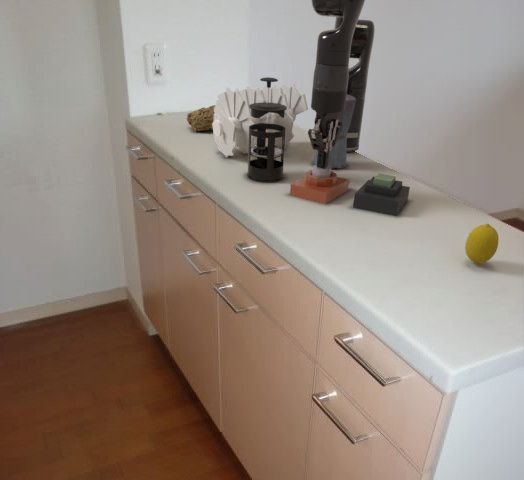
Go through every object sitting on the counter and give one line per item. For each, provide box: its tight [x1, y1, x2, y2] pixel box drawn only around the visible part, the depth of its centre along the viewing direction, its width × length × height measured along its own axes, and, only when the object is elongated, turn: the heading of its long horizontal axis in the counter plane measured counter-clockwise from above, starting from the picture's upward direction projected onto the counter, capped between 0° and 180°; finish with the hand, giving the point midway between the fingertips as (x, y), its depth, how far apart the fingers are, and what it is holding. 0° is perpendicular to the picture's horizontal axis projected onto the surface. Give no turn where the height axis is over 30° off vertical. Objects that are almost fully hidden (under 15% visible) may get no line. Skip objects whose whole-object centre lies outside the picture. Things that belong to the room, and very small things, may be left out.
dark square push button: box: [352, 176, 411, 217], centre depth 126 cm, size 11×10×5 cm
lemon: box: [464, 223, 499, 265], centre depth 101 cm, size 6×6×8 cm
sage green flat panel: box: [373, 173, 397, 188], centre depth 125 cm, size 4×4×2 cm
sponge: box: [186, 104, 216, 132], centre depth 178 cm, size 13×8×20 cm
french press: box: [246, 76, 287, 184], centre depth 135 cm, size 12×9×23 cm
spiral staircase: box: [212, 83, 309, 159], centre depth 154 cm, size 18×18×25 cm
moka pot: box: [313, 94, 356, 169], centre depth 145 cm, size 10×15×20 cm, turn 161°
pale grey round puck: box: [311, 164, 332, 178], centre depth 130 cm, size 4×4×2 cm
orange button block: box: [289, 169, 350, 205], centre depth 131 cm, size 12×10×4 cm
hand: (322, 167), depth 129 cm, fingers closed
